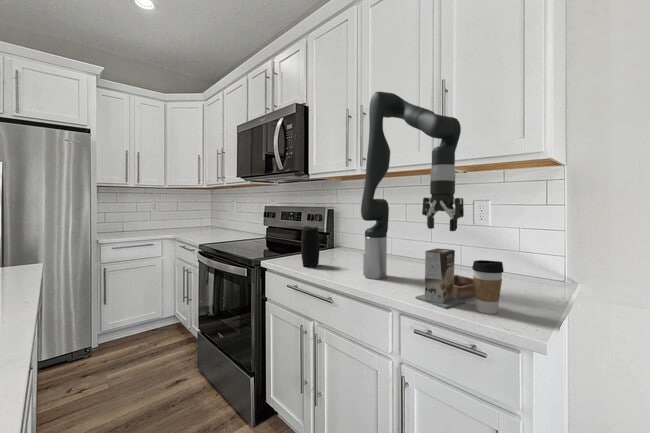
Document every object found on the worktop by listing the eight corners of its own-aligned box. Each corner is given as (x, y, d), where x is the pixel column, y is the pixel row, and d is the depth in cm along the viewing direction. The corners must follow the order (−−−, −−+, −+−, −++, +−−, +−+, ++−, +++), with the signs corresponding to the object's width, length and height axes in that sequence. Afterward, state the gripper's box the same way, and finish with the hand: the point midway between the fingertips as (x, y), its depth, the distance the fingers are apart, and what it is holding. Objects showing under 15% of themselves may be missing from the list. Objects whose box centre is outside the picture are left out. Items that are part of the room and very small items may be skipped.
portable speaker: (321, 264, 164) (321, 226, 163) (314, 268, 156) (314, 227, 154) (306, 263, 167) (306, 225, 166) (298, 267, 159) (298, 227, 157)
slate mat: (415, 298, 110) (415, 296, 110) (435, 293, 115) (435, 291, 115) (445, 308, 99) (445, 306, 99) (465, 303, 105) (465, 301, 105)
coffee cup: (493, 317, 92) (495, 265, 91) (465, 309, 99) (466, 260, 98) (507, 311, 97) (509, 261, 96) (480, 304, 104) (481, 257, 103)
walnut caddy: (430, 290, 118) (430, 279, 118) (456, 284, 126) (456, 274, 125) (460, 299, 108) (460, 288, 107) (486, 293, 115) (486, 281, 115)
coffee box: (443, 304, 102) (444, 253, 101) (423, 299, 106) (424, 251, 105) (454, 297, 109) (455, 249, 108) (435, 293, 113) (436, 247, 112)
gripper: (417, 180, 109) (416, 228, 110) (454, 178, 96) (452, 232, 98) (432, 180, 112) (431, 227, 114) (469, 179, 100) (468, 231, 102)
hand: (441, 229), depth 106 cm, fingers open, 8 cm apart
